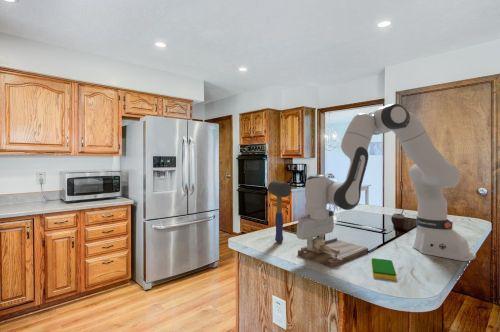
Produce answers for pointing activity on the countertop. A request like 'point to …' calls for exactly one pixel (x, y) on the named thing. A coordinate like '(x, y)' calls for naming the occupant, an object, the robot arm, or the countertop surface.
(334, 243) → the walnut board
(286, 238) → the countertop surface
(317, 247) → the marking gauge
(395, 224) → the mate gourd
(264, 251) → the countertop surface
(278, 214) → the rubber mallet
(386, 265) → the dish sponge
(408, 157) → the robot arm
